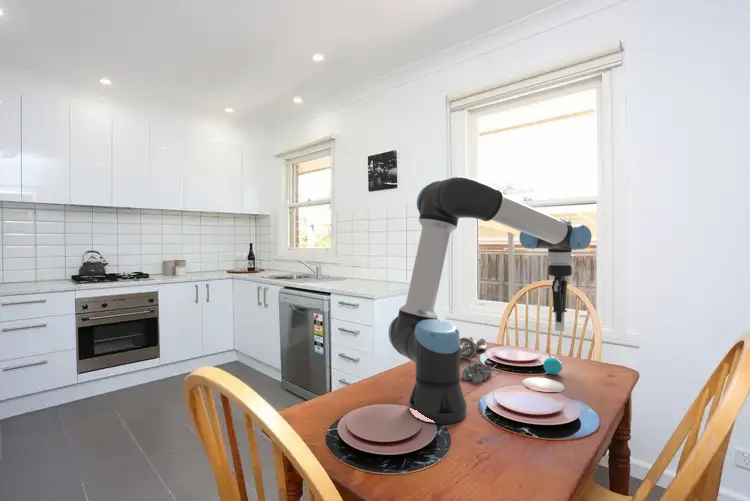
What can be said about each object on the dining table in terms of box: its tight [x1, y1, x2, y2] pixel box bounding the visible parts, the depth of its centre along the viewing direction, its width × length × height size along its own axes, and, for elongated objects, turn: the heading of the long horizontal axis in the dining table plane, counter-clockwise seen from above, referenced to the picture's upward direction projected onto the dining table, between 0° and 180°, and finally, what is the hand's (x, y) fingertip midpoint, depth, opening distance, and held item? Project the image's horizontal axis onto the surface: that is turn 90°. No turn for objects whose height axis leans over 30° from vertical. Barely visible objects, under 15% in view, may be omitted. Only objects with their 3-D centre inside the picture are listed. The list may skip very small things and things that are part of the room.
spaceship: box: [460, 336, 488, 360], centre depth 146 cm, size 8×35×8 cm
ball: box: [542, 357, 562, 375], centre depth 129 cm, size 6×6×6 cm
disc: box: [521, 377, 565, 394], centre depth 120 cm, size 12×12×1 cm
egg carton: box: [460, 361, 494, 383], centre depth 127 cm, size 10×7×4 cm
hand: (559, 330), depth 136 cm, fingers closed
